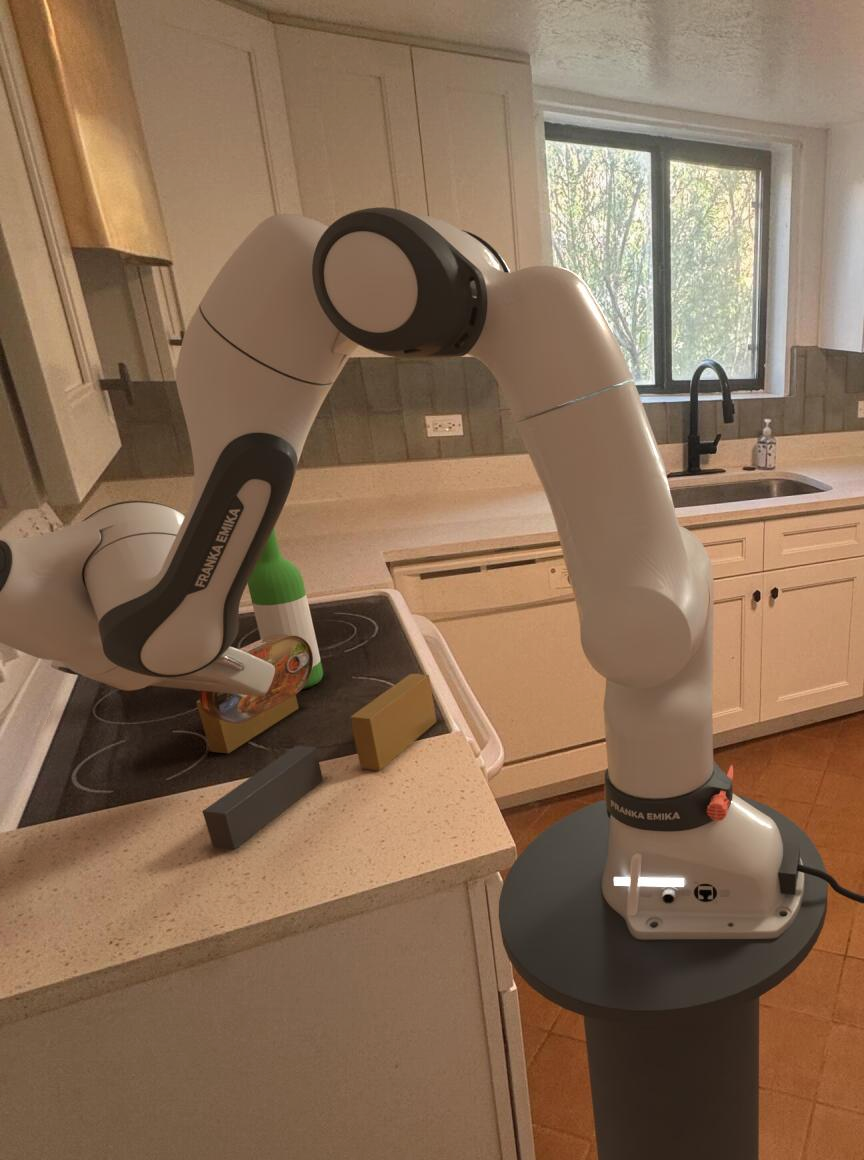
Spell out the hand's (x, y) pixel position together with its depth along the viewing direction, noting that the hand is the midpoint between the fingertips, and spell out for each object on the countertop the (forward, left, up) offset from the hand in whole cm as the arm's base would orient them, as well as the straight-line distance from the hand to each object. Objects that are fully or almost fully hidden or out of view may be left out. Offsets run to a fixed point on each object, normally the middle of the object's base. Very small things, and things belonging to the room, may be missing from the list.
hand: (229, 689), depth 94 cm
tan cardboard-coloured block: (+15, -17, -16) cm, 28 cm away
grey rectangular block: (-3, +1, -16) cm, 16 cm away
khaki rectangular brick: (-9, -17, -16) cm, 25 cm away
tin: (0, -4, -4) cm, 6 cm away
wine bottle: (+20, -32, -16) cm, 41 cm away
